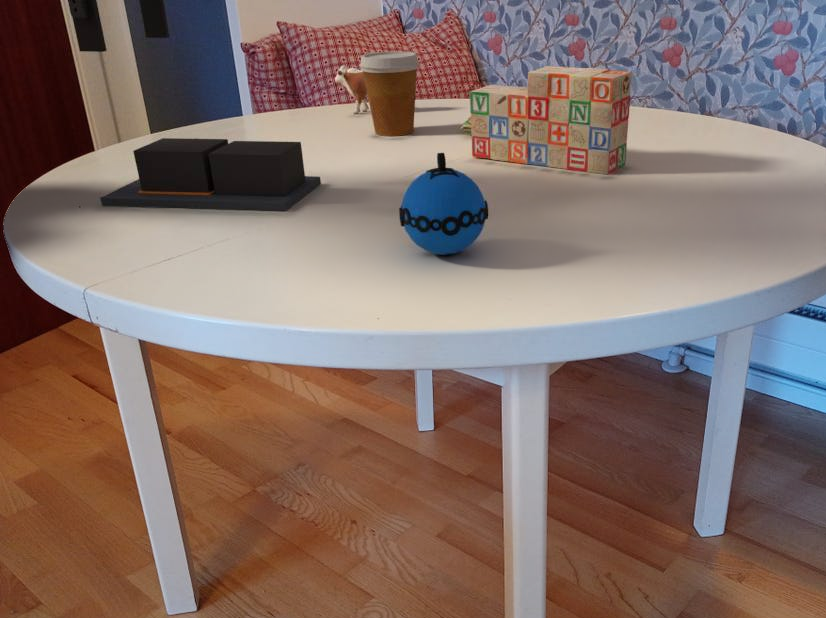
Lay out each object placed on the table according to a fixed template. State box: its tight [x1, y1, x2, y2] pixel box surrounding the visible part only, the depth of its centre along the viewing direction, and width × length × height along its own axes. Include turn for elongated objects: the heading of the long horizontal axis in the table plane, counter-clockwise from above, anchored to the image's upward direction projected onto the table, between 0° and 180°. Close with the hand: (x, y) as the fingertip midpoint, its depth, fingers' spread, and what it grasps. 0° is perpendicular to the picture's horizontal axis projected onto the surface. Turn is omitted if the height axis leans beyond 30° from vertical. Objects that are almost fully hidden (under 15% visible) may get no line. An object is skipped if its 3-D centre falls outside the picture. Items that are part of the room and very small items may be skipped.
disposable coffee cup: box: [358, 50, 420, 137], centre depth 132 cm, size 10×10×12 cm
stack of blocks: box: [469, 65, 633, 175], centre depth 112 cm, size 21×6×12 cm, turn 59°
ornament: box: [398, 152, 489, 256], centre depth 80 cm, size 9×9×10 cm
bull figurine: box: [334, 65, 370, 115], centre depth 149 cm, size 4×13×8 cm, turn 84°
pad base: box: [99, 140, 322, 212], centre depth 103 cm, size 24×12×6 cm, turn 80°
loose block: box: [132, 137, 229, 193], centre depth 103 cm, size 9×7×5 cm
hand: (127, 44), depth 94 cm, fingers open, 13 cm apart
